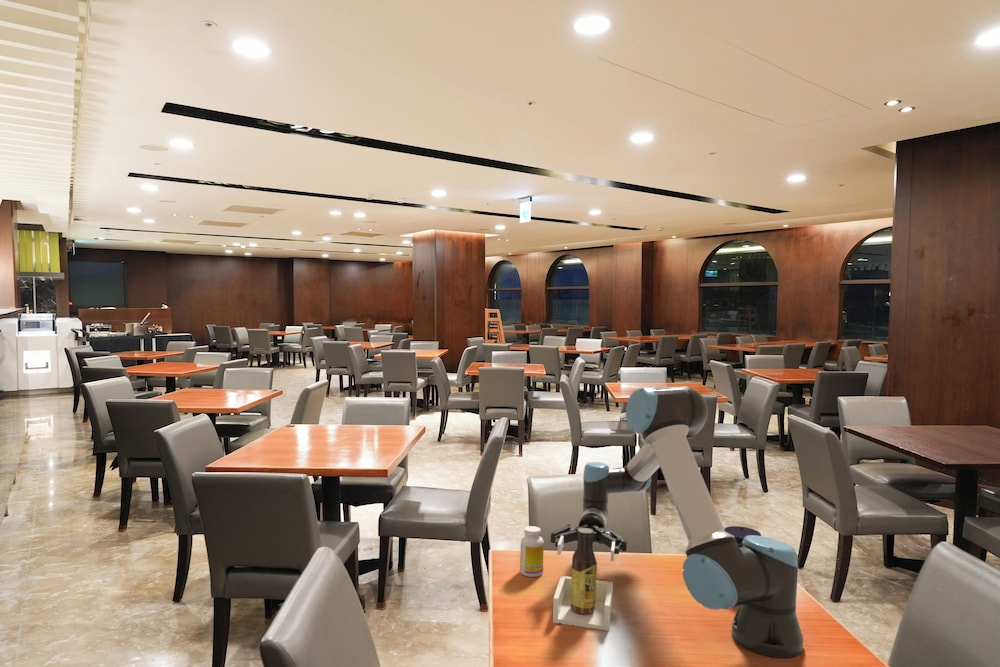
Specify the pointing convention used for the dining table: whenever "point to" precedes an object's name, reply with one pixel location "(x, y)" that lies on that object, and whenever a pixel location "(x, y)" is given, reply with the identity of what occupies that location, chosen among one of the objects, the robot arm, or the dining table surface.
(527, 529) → the supplement bottle
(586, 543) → the sauce bottle
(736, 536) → the dark ridged cylinder
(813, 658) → the dining table surface
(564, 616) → the bottle stand
